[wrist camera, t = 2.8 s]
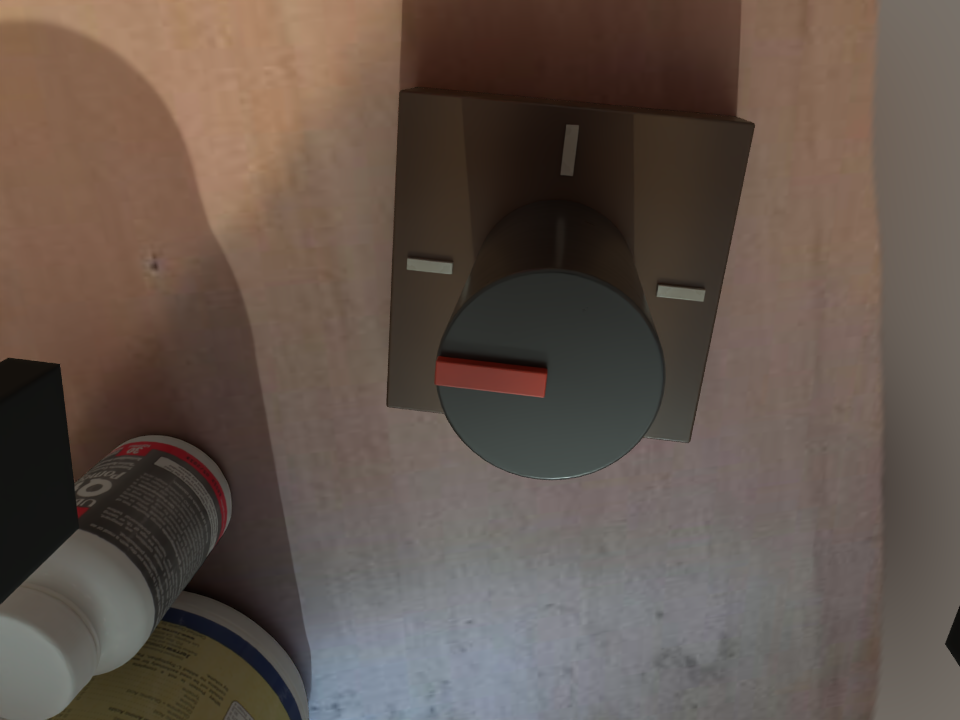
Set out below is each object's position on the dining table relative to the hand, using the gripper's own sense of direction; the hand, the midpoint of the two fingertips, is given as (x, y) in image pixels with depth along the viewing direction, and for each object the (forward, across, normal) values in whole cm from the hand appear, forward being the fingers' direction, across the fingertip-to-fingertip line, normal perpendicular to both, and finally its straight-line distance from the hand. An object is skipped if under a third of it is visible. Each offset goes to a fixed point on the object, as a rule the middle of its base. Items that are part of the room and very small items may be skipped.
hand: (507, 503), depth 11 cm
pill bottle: (+16, -13, -11) cm, 24 cm away
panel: (+16, +1, 0) cm, 16 cm away
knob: (+13, +1, 0) cm, 13 cm away
